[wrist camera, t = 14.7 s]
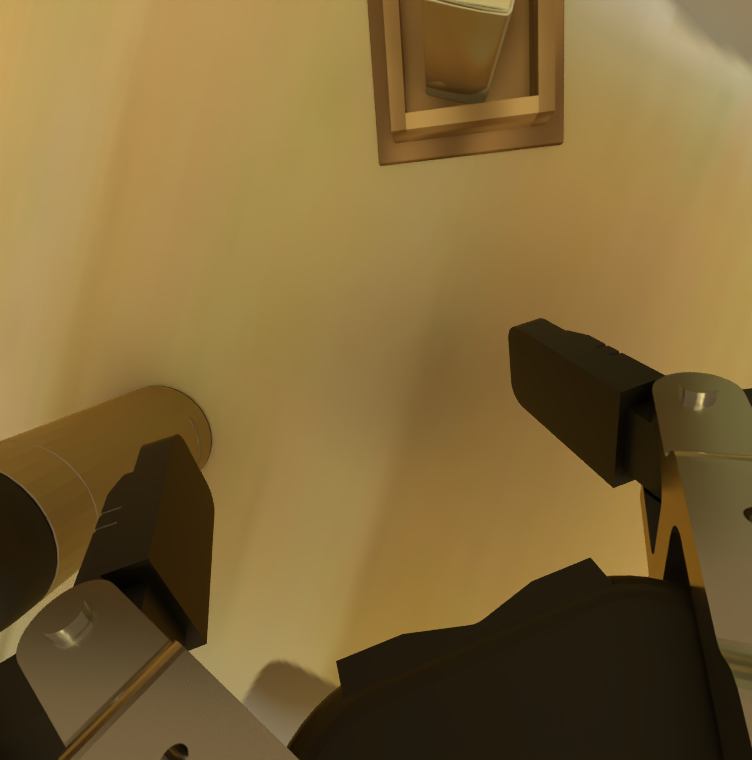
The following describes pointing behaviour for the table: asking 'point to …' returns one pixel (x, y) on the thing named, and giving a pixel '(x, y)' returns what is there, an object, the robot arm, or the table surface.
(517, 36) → the holder
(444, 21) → the skincare box
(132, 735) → the robot arm
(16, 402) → the table surface
